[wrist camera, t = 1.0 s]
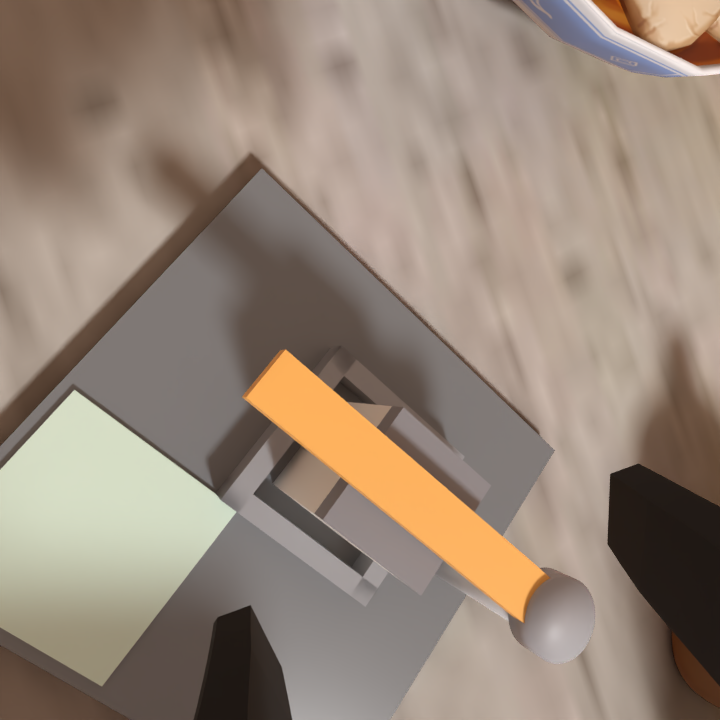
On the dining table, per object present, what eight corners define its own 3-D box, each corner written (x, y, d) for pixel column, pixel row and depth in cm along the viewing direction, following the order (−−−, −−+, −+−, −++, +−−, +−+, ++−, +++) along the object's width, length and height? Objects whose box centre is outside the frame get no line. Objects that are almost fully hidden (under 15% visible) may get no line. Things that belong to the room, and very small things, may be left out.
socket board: (316, 814, 22) (386, 978, 16) (-111, 567, 17) (-242, 667, 11) (543, 448, 27) (663, 468, 21) (257, 175, 22) (305, 97, 16)
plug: (348, 542, 22) (420, 595, 17) (272, 483, 21) (322, 519, 16) (405, 460, 23) (491, 485, 18) (335, 400, 22) (403, 407, 17)
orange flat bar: (546, 664, 18) (568, 679, 17) (228, 411, 15) (234, 414, 14) (584, 594, 19) (607, 605, 18) (289, 337, 15) (299, 334, 15)
